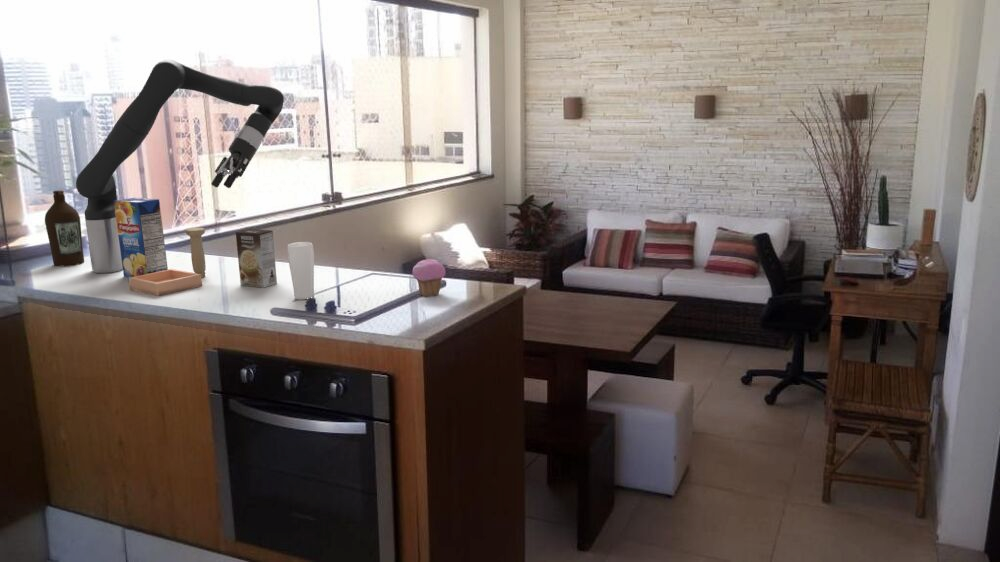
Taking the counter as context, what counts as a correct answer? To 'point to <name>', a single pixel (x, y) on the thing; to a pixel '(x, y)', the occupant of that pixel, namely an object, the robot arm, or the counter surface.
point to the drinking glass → (302, 269)
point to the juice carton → (140, 236)
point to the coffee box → (256, 257)
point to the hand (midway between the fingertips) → (220, 186)
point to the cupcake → (429, 276)
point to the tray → (165, 282)
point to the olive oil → (64, 232)
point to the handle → (197, 250)
